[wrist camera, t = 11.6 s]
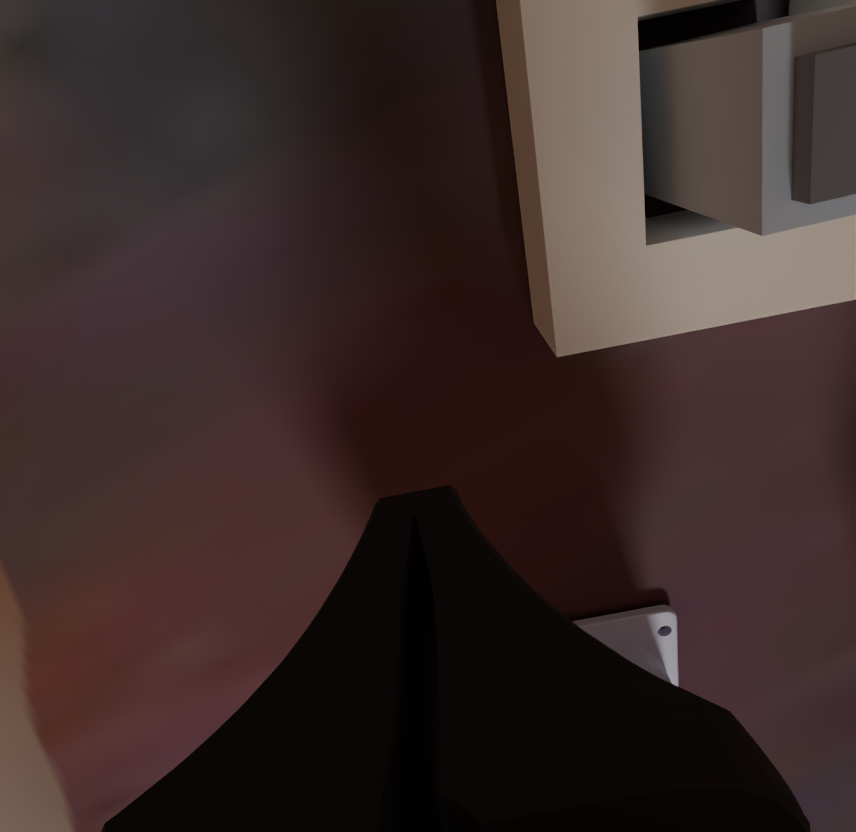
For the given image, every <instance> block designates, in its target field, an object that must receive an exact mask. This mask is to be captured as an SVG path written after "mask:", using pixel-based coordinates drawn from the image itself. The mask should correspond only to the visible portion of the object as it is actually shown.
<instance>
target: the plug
mask: <svg viewBox="0 0 856 832" xmlns="http://www.w3.org/2000/svg"><path fill="white" fill-rule="evenodd" d="M639 71H640V97H641V123H642V150H643V176H644V194H646V195H648V196H651V197H654V198H657V199H660V200H662V201H665V202H668V203H671V204H674V205H676V206H679V207H682V208H685V209H688V210H690V211H693V212H696V213H699V214H702V215H704V216H707V217H710V218H713V219H716V220H718V221H721V222H724V223H727V224H730V225H732V226H735V227H738V228H741V229H744V230H746V231H749V232H752V233H755V234H758V235H760V236H764V235H769V234H773V233H777V232H782V231H786V230H790V229H795V228H799V227H803V226H808V225H812V224H816V223H821V222H825V221H829V220H834V219H838V218H842V217H847V216H851V215H855V214H856V2H853V3H848V4H843V5H839V6H834V7H829V8H824V9H819V10H814V11H810V12H805V13H800V14H795V15H790V16H785V17H781V18H776V19H771V20H766V21H761V22H757V23H752V24H748V25H744V26H740V27H736V28H732V29H728V30H724V31H720V32H715V33H711V34H707V35H703V36H699V37H695V38H691V39H687V40H683V41H678V42H674V43H670V44H666V45H662V46H658V47H654V48H650V49H645V50H641V51H639Z"/></svg>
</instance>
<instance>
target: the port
mask: <svg viewBox="0 0 856 832" xmlns="http://www.w3.org/2000/svg"><path fill="white" fill-rule="evenodd" d="M736 1H741V0H496V6H497V15H498V23H499V32H500V40H501V49H502V57H503V66H504V74H505V83H506V91H507V100H508V108H509V117H510V125H511V134H512V142H513V151H514V159H515V168H516V176H517V185H518V193H519V202H520V210H521V219H522V227H523V236H524V244H525V253H526V261H527V270H528V278H529V287H530V296H531V304H532V313H533V321H534V324H535V326H536V327H537V329H538V330H539V332H540V333H541V335H542V336H543V338H544V339H545V340H546V342H547V343H548V345H549V346H550V348H551V349H552V351H553V352H554V354H555V355H556V357H561V356H566V355H572V354H577V353H582V352H587V351H592V350H597V349H603V348H608V347H613V346H618V345H623V344H628V343H633V342H639V341H644V340H649V339H654V338H659V337H664V336H670V335H675V334H680V333H685V332H690V331H695V330H701V329H706V328H711V327H716V326H721V325H726V324H731V323H737V322H742V321H747V320H752V319H757V318H762V317H768V316H773V315H778V314H783V313H788V312H793V311H799V310H804V309H809V308H814V307H819V306H824V305H829V304H835V303H840V302H845V301H850V300H855V299H856V214H855V215H851V216H847V217H842V218H838V219H834V220H829V221H825V222H821V223H816V224H812V225H808V226H803V227H799V228H795V229H790V230H786V231H782V232H777V233H773V234H769V235H764V236H760V235H758V234H755V233H752V232H749V231H746V230H744V229H741V228H738V227H735V226H732V225H730V224H727V223H724V222H721V221H718V220H716V219H713V218H710V217H707V216H704V215H702V214H699V213H696V212H693V211H690V210H684V211H679V212H674V213H669V214H664V215H659V216H654V217H649V218H645V202H644V176H643V150H642V123H641V97H640V71H639V44H638V21H643V20H648V19H653V18H658V17H663V16H667V15H672V14H677V13H682V12H687V11H692V10H697V9H702V8H707V7H711V6H716V5H721V4H726V3H731V2H736ZM853 2H856V0H789V16H790V15H795V14H800V13H805V12H810V11H814V10H819V9H824V8H829V7H834V6H839V5H843V4H848V3H853Z"/></svg>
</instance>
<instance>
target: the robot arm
mask: <svg viewBox="0 0 856 832" xmlns="http://www.w3.org/2000/svg"><path fill="white" fill-rule="evenodd" d="M663 626H666V627H665V628H662V629H660V628H661V627H663ZM101 832H810V823H809V822H808V820H807V818H806V817H805V815H804V814H803V811H802V809H801V807H800V805H799V803H798V801H797V800H796V798H795V796H794V794H793V793H792V791H791V789H790V788H789V786H788V785H787V783H786V782H785V781H784V779H783V778H782V776H781V775H780V773H779V772H778V771H777V769H776V768H775V767H774V765H773V764H772V763H771V761H770V760H769V759H768V757H767V756H766V755H765V753H764V752H763V751H762V750H761V748H760V747H759V746H758V744H757V743H756V742H755V741H754V739H753V738H752V737H751V736H750V735H749V733H748V732H747V731H746V730H745V728H744V727H743V726H742V725H741V724H740V722H739V721H738V720H737V719H736V718H735V717H734V716H733V714H732V713H731V712H730V711H728V710H726V709H724V708H722V707H720V706H718V705H716V704H714V703H712V702H709V701H707V700H705V699H703V698H701V697H699V696H697V695H695V694H692V693H690V692H688V691H686V690H684V689H682V688H680V687H679V682H678V639H677V616H676V614H675V612H674V610H673V609H672V608H671V607H670V606H668V605H658V606H653V607H647V608H642V609H636V610H631V611H626V612H620V613H615V614H609V615H604V616H599V617H593V618H588V619H582V620H577V621H571V620H570V619H568V618H567V617H566V616H564V615H563V614H562V613H561V612H559V611H558V610H557V609H556V608H554V607H553V606H552V605H551V604H550V603H549V602H547V601H546V600H545V599H544V598H543V597H542V596H540V595H539V594H538V593H537V592H536V591H535V590H534V589H533V588H532V587H531V586H530V585H529V584H528V583H527V582H525V581H524V580H523V579H522V578H521V577H520V576H519V574H518V573H517V572H516V571H515V570H514V569H513V568H512V567H511V566H510V565H509V564H508V563H507V562H506V561H505V560H504V559H503V558H502V556H501V555H500V554H499V553H498V552H497V551H496V549H495V548H494V547H493V546H492V545H491V543H490V542H489V541H488V540H487V538H486V537H485V536H484V535H483V534H482V532H481V531H480V530H479V528H478V527H477V526H476V524H475V523H474V521H473V520H472V518H471V517H470V515H469V514H468V512H467V511H466V509H465V507H464V506H463V504H462V502H461V500H460V498H459V496H458V493H457V490H456V489H454V488H453V487H451V486H450V485H448V486H443V487H437V488H432V489H427V490H422V491H416V492H411V493H406V494H401V495H395V496H390V497H385V498H380V499H379V501H378V502H377V503H376V505H375V506H374V509H373V512H372V514H371V516H370V519H369V521H368V523H367V525H366V528H365V530H364V532H363V534H362V536H361V538H360V540H359V542H358V544H357V546H356V548H355V550H354V552H353V554H352V556H351V558H350V560H349V561H348V563H347V565H346V567H345V569H344V571H343V573H342V574H341V576H340V578H339V580H338V581H337V583H336V585H335V586H334V588H333V590H332V591H331V593H330V594H329V596H328V598H327V599H326V601H325V602H324V604H323V606H322V607H321V609H320V610H319V612H318V613H317V615H316V616H315V618H314V619H313V621H312V622H311V624H310V625H309V627H308V628H307V629H306V631H305V632H304V634H303V635H302V636H301V638H300V639H299V640H298V642H297V643H296V644H295V646H294V647H293V648H292V649H291V651H290V652H289V653H288V655H287V656H286V657H285V658H284V660H283V661H282V662H281V663H280V664H279V666H278V667H277V668H276V669H275V670H274V671H273V672H272V674H271V675H270V676H269V677H268V678H267V679H266V680H265V681H264V682H263V683H262V685H261V686H260V687H259V688H258V689H257V690H256V691H255V692H254V693H253V694H252V696H251V697H250V698H249V699H248V700H247V701H246V702H245V703H244V704H243V705H242V706H241V707H240V708H239V709H238V710H237V711H236V712H235V713H234V714H233V715H232V716H231V717H230V718H229V719H228V720H227V721H226V722H225V723H224V724H223V725H222V726H221V727H220V728H219V729H218V730H217V731H216V732H215V733H214V734H212V735H211V736H210V737H209V738H208V739H207V740H206V741H205V742H204V743H203V744H201V745H200V746H199V747H198V748H197V749H196V750H195V751H194V752H193V753H192V754H190V755H189V756H188V757H187V758H186V759H185V760H184V761H182V762H181V763H180V764H179V765H178V766H177V767H175V768H174V769H173V770H172V771H171V772H169V773H168V774H167V775H166V776H164V777H163V778H162V779H161V780H159V781H158V782H157V783H156V784H154V785H153V786H152V787H151V788H149V789H148V790H147V791H146V792H144V793H143V794H142V795H141V796H139V797H138V798H137V799H136V800H134V801H133V802H132V803H131V804H129V805H128V806H127V807H126V808H124V809H123V810H122V811H121V812H119V813H118V814H117V815H115V816H114V817H113V818H111V819H110V820H109V821H107V822H106V823H105V824H104V827H103V829H102V831H101Z"/></svg>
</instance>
